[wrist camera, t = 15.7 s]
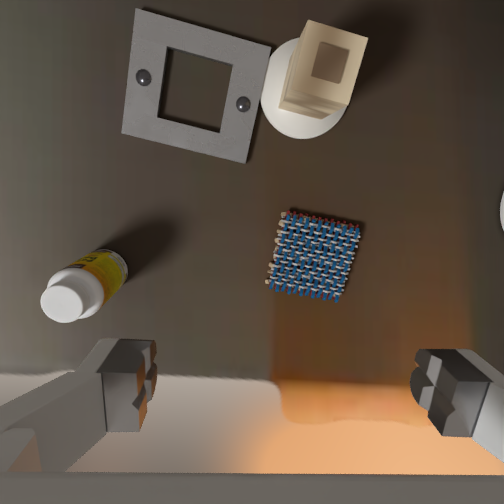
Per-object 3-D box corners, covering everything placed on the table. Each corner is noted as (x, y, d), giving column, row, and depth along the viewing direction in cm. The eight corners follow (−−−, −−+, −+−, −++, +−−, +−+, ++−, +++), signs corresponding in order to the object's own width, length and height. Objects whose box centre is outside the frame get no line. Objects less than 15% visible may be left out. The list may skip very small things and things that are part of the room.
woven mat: (360, 222, 39) (366, 226, 37) (337, 297, 42) (342, 304, 40) (281, 206, 38) (283, 209, 36) (263, 284, 41) (264, 290, 39)
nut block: (334, 71, 33) (369, 36, 24) (320, 119, 34) (349, 104, 25) (289, 58, 32) (308, 18, 23) (277, 108, 34) (291, 88, 25)
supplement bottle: (113, 240, 38) (68, 267, 28) (137, 277, 39) (103, 315, 29) (75, 260, 38) (18, 293, 28) (101, 296, 40) (55, 339, 30)
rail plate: (270, 50, 32) (271, 47, 32) (245, 163, 36) (245, 163, 35) (138, 11, 31) (135, 7, 30) (124, 133, 34) (121, 133, 33)
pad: (355, 43, 33) (357, 40, 32) (342, 141, 35) (343, 141, 35) (262, 35, 32) (262, 32, 32) (256, 136, 35) (256, 135, 34)
